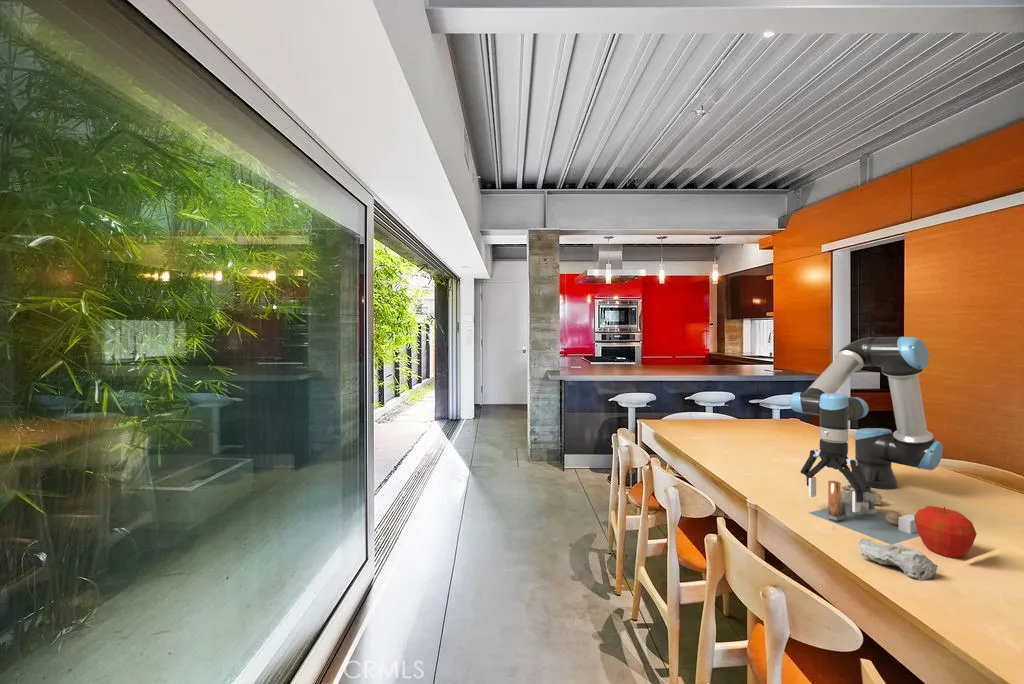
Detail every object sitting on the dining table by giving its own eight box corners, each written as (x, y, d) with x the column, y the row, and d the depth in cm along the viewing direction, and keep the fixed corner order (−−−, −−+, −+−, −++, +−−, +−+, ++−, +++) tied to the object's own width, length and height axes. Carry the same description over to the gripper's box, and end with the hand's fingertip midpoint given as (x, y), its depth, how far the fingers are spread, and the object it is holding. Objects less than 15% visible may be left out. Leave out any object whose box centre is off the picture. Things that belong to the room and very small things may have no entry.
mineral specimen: (855, 563, 116) (855, 538, 116) (859, 554, 121) (859, 530, 121) (935, 587, 104) (935, 560, 104) (936, 576, 109) (936, 550, 109)
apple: (902, 544, 125) (902, 498, 125) (943, 545, 125) (944, 498, 125) (944, 567, 113) (944, 515, 113) (989, 568, 113) (990, 516, 112)
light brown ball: (890, 520, 139) (890, 507, 139) (906, 526, 135) (906, 512, 135) (882, 523, 137) (882, 509, 137) (898, 528, 133) (898, 515, 133)
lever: (861, 506, 149) (861, 472, 149) (881, 512, 143) (881, 477, 143) (823, 515, 141) (823, 480, 141) (843, 523, 135) (843, 486, 135)
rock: (885, 495, 149) (870, 481, 159) (847, 491, 152) (835, 478, 162) (883, 513, 150) (869, 498, 160) (846, 509, 154) (834, 495, 163)
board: (851, 505, 154) (851, 491, 154) (937, 534, 132) (937, 517, 132) (807, 516, 146) (807, 501, 145) (890, 548, 123) (891, 531, 123)
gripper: (789, 433, 150) (789, 492, 150) (869, 450, 126) (869, 520, 127) (803, 431, 152) (803, 489, 153) (884, 448, 129) (884, 516, 129)
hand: (833, 503), depth 140 cm, fingers open, 13 cm apart
